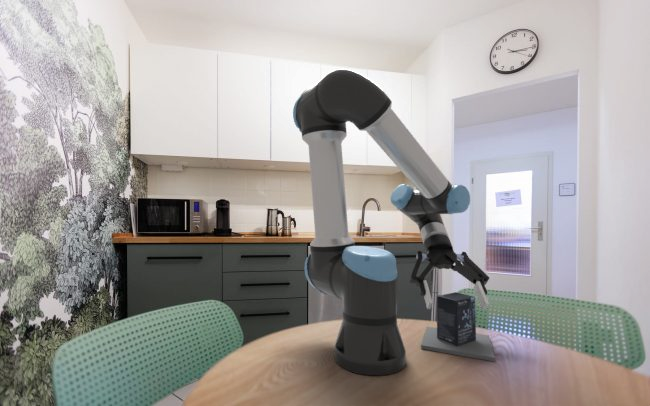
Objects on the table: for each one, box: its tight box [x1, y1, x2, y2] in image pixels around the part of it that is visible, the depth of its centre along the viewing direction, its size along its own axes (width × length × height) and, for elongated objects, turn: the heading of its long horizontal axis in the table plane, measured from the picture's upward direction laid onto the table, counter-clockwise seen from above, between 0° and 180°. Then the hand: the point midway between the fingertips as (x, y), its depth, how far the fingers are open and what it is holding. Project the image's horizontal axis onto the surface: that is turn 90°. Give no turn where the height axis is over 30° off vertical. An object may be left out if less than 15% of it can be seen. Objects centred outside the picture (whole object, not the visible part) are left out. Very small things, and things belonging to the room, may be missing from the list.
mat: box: [420, 326, 496, 362], centre depth 73 cm, size 15×14×1 cm
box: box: [436, 292, 477, 346], centre depth 73 cm, size 8×6×11 cm
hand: (457, 306), depth 73 cm, fingers open, 13 cm apart
